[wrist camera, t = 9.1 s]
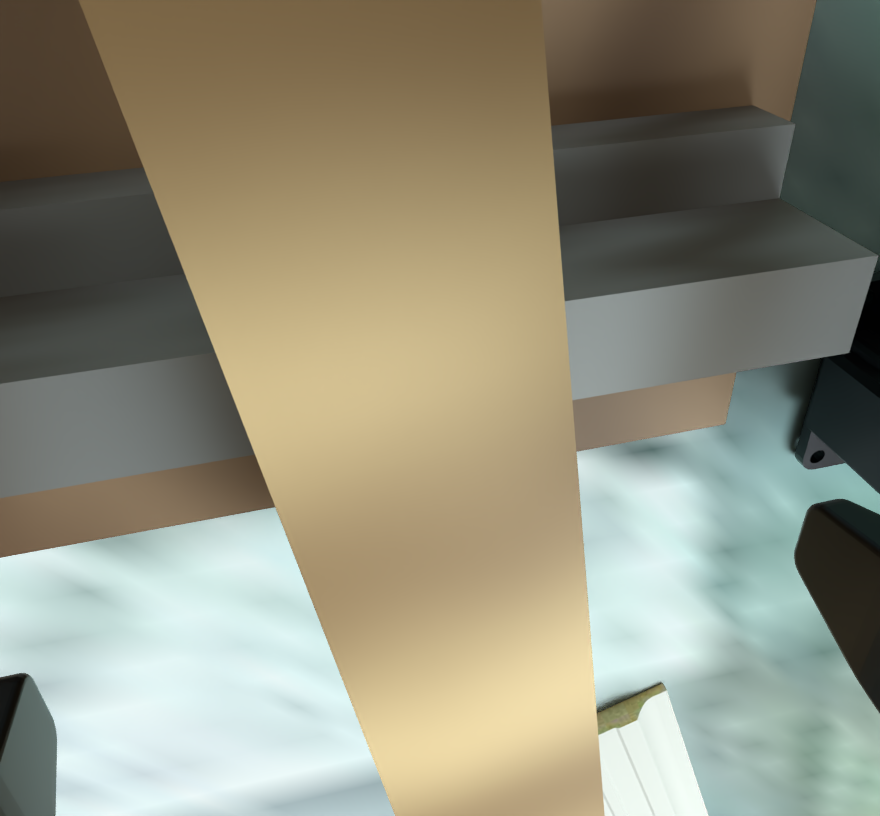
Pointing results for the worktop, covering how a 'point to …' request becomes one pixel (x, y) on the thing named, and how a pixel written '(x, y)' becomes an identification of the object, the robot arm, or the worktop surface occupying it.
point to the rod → (393, 356)
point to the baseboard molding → (646, 759)
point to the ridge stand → (581, 241)
